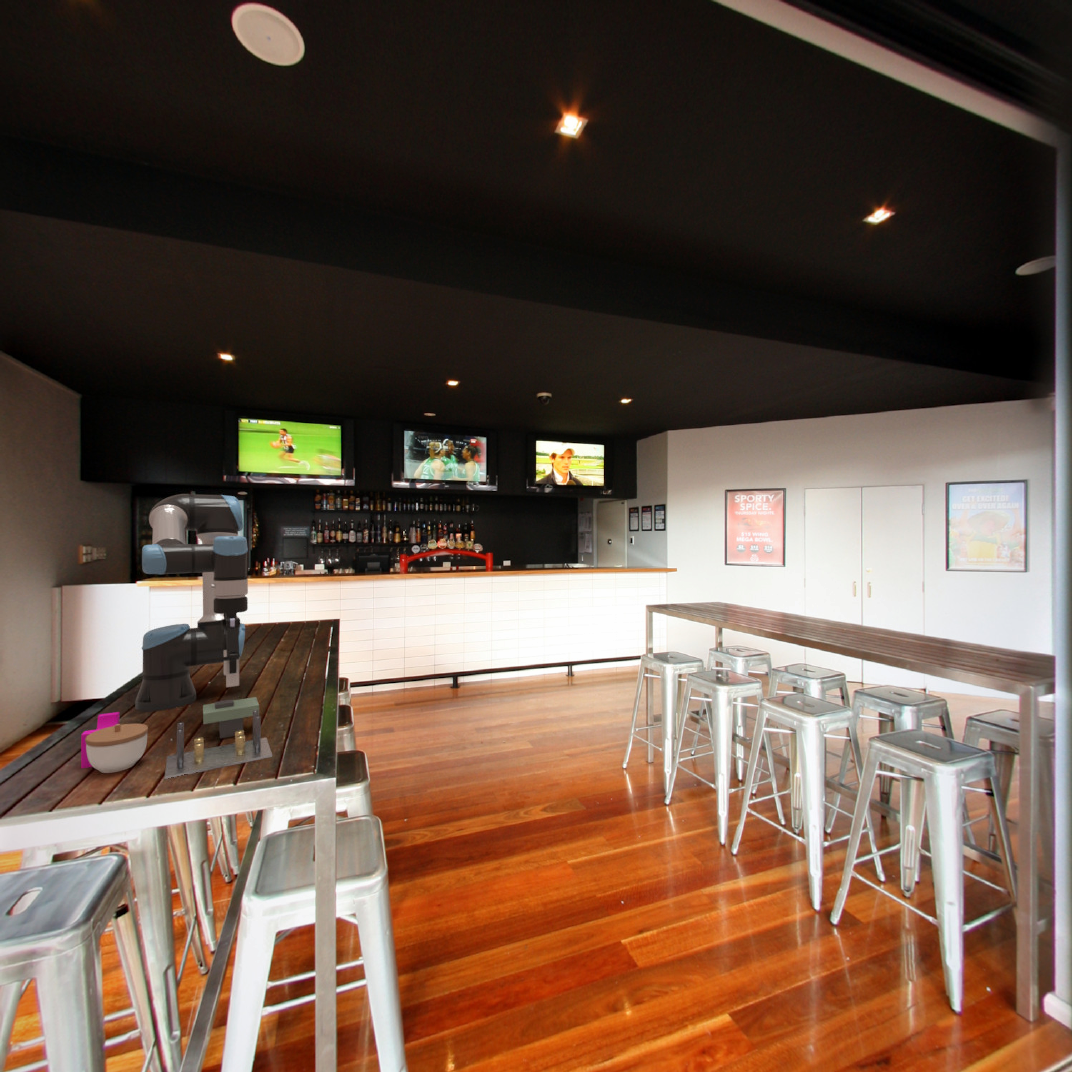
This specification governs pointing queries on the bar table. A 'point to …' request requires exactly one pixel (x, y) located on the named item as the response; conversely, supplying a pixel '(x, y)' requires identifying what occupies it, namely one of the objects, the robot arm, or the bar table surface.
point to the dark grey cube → (230, 727)
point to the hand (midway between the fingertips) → (231, 680)
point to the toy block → (103, 722)
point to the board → (229, 710)
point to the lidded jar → (116, 747)
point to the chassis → (217, 752)
